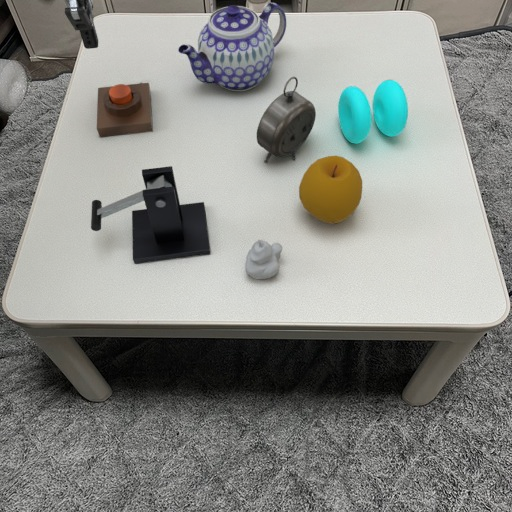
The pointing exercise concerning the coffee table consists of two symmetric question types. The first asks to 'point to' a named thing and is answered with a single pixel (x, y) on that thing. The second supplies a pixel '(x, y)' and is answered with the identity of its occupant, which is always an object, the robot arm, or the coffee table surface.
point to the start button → (120, 94)
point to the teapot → (235, 47)
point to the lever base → (167, 223)
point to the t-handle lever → (122, 202)
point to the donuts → (384, 110)
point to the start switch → (124, 112)
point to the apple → (331, 189)
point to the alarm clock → (286, 124)
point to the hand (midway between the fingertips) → (92, 45)
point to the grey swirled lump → (263, 259)
